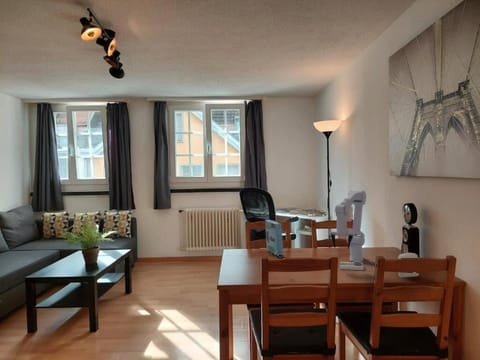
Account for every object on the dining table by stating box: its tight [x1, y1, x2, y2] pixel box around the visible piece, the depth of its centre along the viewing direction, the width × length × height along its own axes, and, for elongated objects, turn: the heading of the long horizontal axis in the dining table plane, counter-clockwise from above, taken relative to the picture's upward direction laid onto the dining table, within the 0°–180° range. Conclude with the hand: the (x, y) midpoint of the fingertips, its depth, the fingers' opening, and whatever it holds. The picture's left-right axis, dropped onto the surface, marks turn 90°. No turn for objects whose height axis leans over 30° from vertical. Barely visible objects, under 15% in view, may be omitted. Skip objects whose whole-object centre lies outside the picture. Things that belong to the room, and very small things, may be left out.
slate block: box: [353, 260, 362, 266], centre depth 197 cm, size 4×4×4 cm
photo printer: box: [397, 252, 420, 278], centre depth 178 cm, size 10×4×12 cm, turn 96°
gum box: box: [264, 219, 284, 256], centre depth 239 cm, size 20×5×23 cm, turn 17°
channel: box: [339, 261, 365, 271], centre depth 198 cm, size 8×13×2 cm, turn 73°
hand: (341, 248), depth 197 cm, fingers open, 7 cm apart
